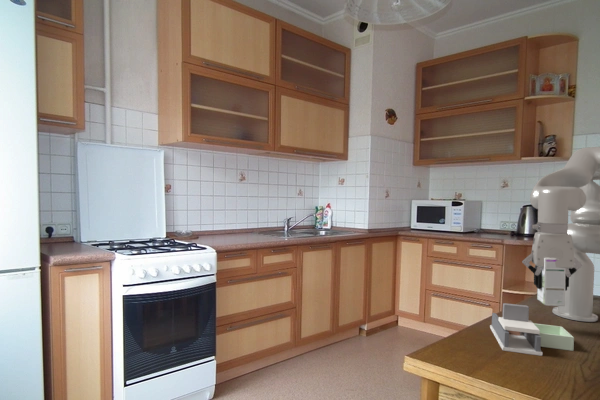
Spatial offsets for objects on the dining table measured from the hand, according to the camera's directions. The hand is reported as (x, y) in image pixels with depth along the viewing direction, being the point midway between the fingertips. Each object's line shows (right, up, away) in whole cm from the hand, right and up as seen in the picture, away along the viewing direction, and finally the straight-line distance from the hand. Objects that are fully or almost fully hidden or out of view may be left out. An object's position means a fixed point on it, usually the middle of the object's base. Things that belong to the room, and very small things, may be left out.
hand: (550, 287), depth 114 cm
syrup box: (0, -5, 0) cm, 5 cm away
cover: (-17, -8, -13) cm, 23 cm away
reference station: (-16, -13, -9) cm, 22 cm away
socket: (-7, -13, -9) cm, 17 cm away
